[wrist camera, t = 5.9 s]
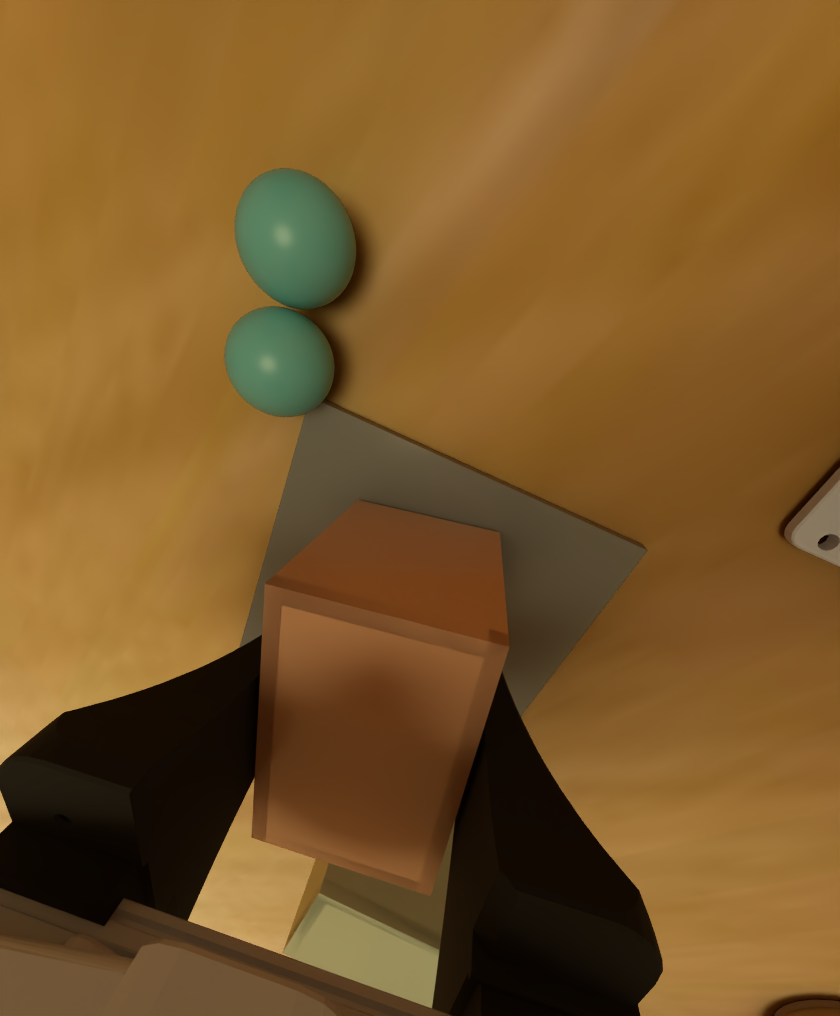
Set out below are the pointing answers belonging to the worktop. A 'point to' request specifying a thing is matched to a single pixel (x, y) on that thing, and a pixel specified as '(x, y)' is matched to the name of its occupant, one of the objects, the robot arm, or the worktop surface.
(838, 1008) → the beer can
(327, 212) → the marble
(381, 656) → the tall copper box
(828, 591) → the worktop surface
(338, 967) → the pale green square box
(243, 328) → the marble
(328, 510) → the slate coaster
